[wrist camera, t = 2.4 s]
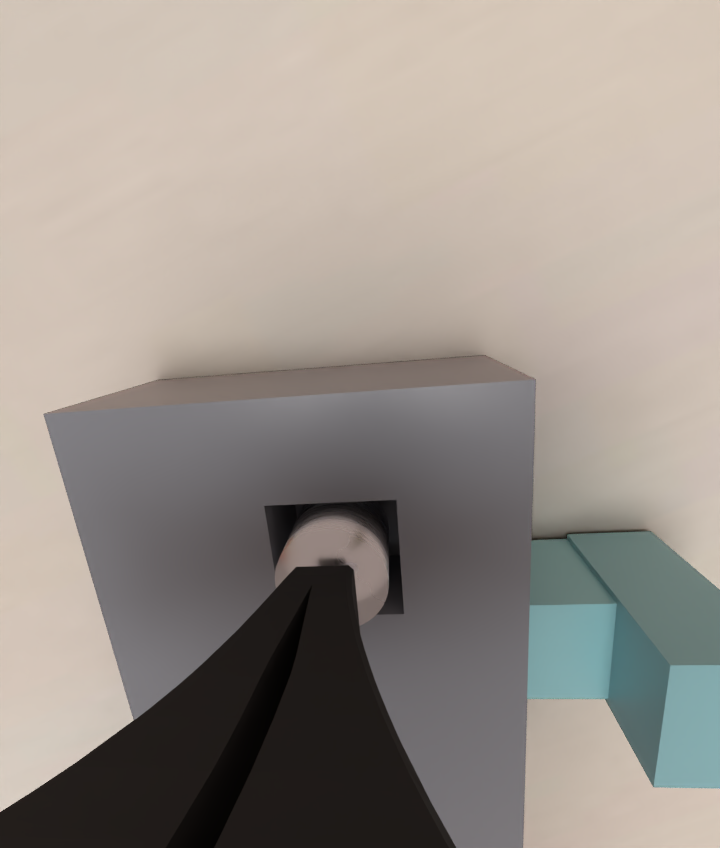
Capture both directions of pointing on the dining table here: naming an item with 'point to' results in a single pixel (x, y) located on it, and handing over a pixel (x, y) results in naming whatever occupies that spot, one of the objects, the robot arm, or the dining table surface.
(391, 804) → the robot arm
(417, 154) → the dining table surface
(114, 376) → the dining table surface
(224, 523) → the housing
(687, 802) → the dining table surface
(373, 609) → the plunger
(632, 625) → the cartridge
